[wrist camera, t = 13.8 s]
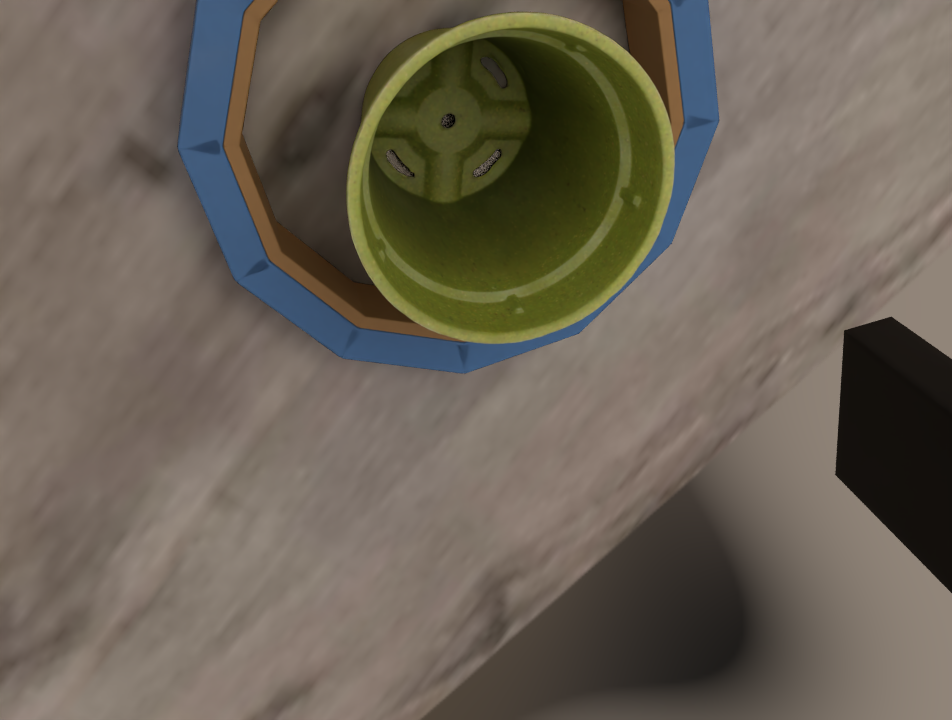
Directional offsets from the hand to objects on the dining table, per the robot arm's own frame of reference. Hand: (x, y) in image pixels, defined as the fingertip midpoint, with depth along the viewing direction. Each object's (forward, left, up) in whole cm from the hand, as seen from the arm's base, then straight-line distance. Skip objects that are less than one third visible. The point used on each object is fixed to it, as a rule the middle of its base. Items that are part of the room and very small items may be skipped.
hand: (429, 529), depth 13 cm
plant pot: (-4, +4, -22) cm, 23 cm away
